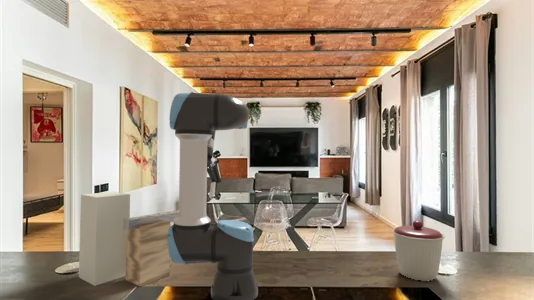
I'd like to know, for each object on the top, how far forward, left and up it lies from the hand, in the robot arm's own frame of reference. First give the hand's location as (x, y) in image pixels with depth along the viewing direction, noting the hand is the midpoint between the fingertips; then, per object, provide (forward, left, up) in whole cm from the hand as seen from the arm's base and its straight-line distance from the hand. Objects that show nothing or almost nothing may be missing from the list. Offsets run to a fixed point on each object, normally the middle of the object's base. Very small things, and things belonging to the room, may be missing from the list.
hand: (198, 192), depth 133 cm
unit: (+13, +33, -29) cm, 46 cm away
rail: (-1, +21, -10) cm, 23 cm away
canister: (-80, -39, -29) cm, 93 cm away
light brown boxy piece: (-1, +24, -29) cm, 38 cm away
